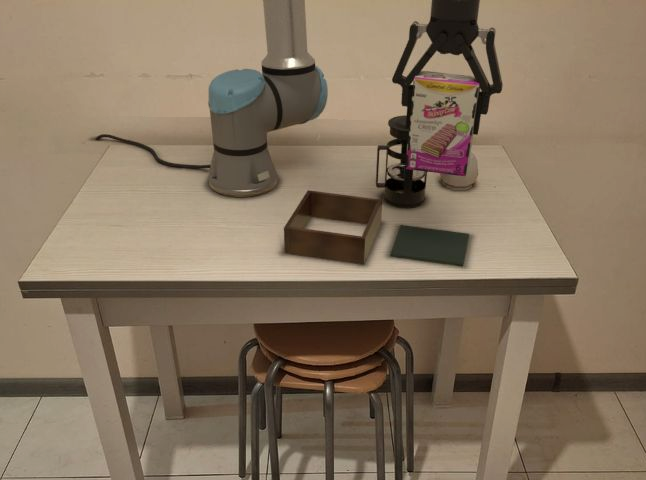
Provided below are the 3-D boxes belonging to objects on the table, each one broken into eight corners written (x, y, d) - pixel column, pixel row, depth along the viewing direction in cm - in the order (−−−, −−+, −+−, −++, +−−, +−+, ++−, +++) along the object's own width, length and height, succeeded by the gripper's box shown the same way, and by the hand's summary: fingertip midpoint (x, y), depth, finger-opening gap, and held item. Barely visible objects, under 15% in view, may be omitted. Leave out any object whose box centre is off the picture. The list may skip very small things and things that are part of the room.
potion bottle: (475, 176, 163) (486, 99, 152) (476, 193, 156) (488, 113, 145) (438, 174, 164) (446, 97, 152) (437, 190, 157) (446, 111, 145)
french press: (425, 189, 157) (435, 85, 143) (431, 208, 150) (442, 101, 135) (373, 188, 156) (378, 84, 142) (376, 208, 149) (381, 100, 135)
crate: (284, 253, 133) (283, 227, 130) (308, 214, 146) (307, 190, 143) (364, 264, 131) (365, 238, 128) (381, 223, 144) (382, 199, 140)
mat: (390, 256, 134) (390, 253, 133) (400, 227, 143) (400, 224, 142) (462, 266, 131) (463, 263, 131) (468, 236, 141) (469, 233, 140)
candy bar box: (405, 170, 126) (412, 78, 116) (409, 160, 130) (416, 69, 120) (467, 178, 124) (479, 84, 114) (469, 167, 128) (482, 75, 118)
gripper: (378, -10, 108) (372, 128, 121) (532, 1, 104) (508, 143, 118) (387, -20, 114) (380, 114, 127) (533, -9, 110) (510, 127, 123)
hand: (442, 128), depth 122 cm, fingers closed on candy bar box, 11 cm apart
